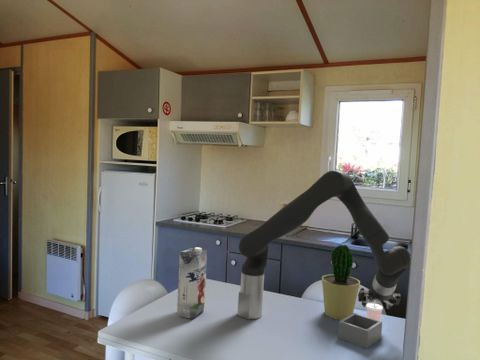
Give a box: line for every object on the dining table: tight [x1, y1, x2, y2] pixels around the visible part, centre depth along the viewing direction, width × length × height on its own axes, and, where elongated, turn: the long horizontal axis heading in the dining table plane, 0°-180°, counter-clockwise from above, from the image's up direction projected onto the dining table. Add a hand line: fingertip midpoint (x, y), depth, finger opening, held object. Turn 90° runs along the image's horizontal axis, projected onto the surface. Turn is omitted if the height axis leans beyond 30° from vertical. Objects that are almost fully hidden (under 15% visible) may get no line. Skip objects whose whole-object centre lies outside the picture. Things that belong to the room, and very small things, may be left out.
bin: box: [337, 312, 383, 349], centre depth 144 cm, size 12×11×6 cm
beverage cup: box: [365, 301, 384, 321], centre depth 152 cm, size 6×6×14 cm
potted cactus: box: [321, 244, 361, 321], centre depth 164 cm, size 15×15×30 cm
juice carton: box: [176, 246, 208, 320], centre depth 156 cm, size 9×10×27 cm
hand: (375, 305), depth 150 cm, fingers open, 8 cm apart
